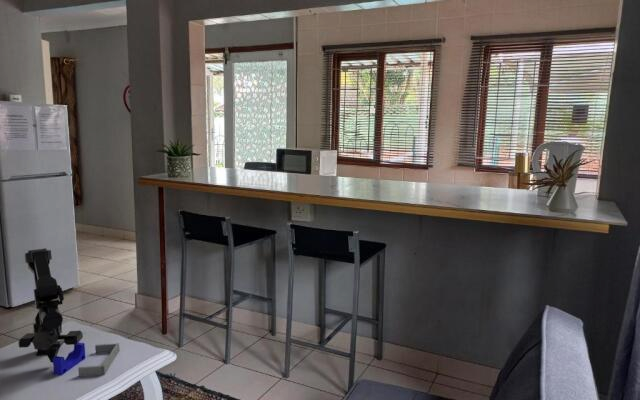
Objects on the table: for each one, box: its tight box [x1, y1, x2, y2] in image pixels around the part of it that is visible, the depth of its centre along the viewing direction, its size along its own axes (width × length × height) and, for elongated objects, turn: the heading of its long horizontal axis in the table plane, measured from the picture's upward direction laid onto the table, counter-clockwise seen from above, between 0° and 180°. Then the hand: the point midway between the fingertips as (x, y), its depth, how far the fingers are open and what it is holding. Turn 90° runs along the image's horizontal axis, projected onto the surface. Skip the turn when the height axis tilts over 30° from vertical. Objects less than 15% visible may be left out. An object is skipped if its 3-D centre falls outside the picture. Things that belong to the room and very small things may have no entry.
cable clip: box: [52, 342, 86, 376], centre depth 160 cm, size 12×4×6 cm, turn 171°
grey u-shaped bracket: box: [77, 342, 121, 378], centre depth 162 cm, size 8×18×3 cm, turn 8°
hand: (53, 362), depth 160 cm, fingers closed
